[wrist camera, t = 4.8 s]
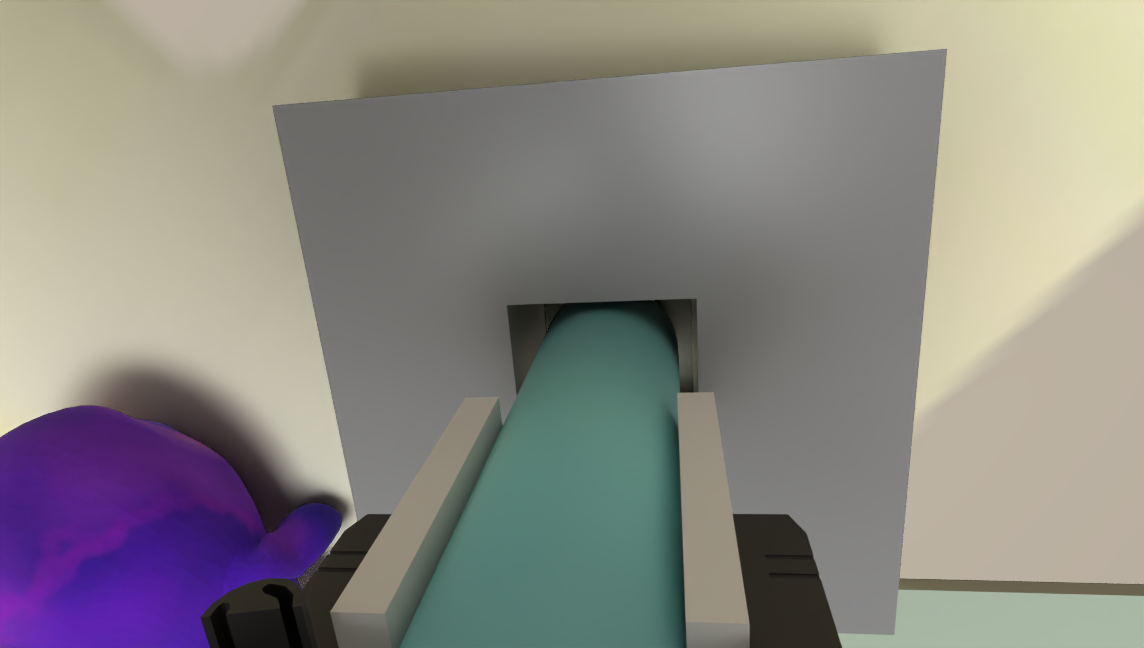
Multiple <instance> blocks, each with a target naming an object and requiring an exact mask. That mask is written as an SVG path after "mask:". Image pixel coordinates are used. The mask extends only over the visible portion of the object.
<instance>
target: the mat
mask: <svg viewBox="0 0 1144 648" xmlns="http://www.w3.org/2000/svg"><path fill="white" fill-rule="evenodd" d="M838 636H839V639H840V642H841V645H842V648H1144V584H1107V583H1103V584H1102V583H1064V582H1023V581H1020V582H1019V581H981V580H980V581H979V580H940V579H939V580H938V579H899V588H898V599H897V611H896V622H895V633H894V635H875V634H847V633H838Z"/></svg>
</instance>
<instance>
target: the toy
mask: <svg viewBox="0 0 1144 648" xmlns="http://www.w3.org/2000/svg"><path fill="white" fill-rule="evenodd" d="M341 523H342V517H341V514H340V513H339V512H338V511H337V510H336V509H335V508H333V507H331V506H329V505H326V504H322V503H309V504H305V505H302V506H300V507H298V508H297V509H295V510H293V511H292V512H291V513H290V514H289V515H287V516H286V517H285V518H284V519H283V520H282V521H281V522H280V524H279V525H278V527H277V529H276V531H274V532H269V533H267V531H266V529H265V527H264V525H263V523H262V520H261V518H260V515H259V513H258V511H257V508H256V506H255V503H254V501H253V499H252V497H251V496H250V494H249V492H248V491H247V489H246V487H245V486H244V484H243V482H242V480H241V479H240V477H239V476H238V474H237V473H236V471H235V470H234V469H233V468H232V467H231V466H230V464H229V463H228V462H227V461H226V460H225V459H224V458H223V457H221V456H220V455H219V454H218V453H216V452H215V451H213V450H212V449H210V448H209V447H207V446H206V445H204V444H202V443H200V442H198V441H196V440H194V439H192V438H190V437H188V436H186V435H184V434H182V433H180V432H179V431H177V430H175V429H173V428H171V427H170V426H168V425H165V424H162V423H159V422H155V421H149V420H142V419H135V418H132V417H130V416H128V415H125V414H123V413H121V412H118V411H115V410H112V409H109V408H105V407H100V406H92V405H87V406H76V407H70V408H65V409H62V410H58V411H55V412H52V413H48V414H45V415H43V416H41V417H38V418H36V419H33V420H31V421H29V422H26V423H24V424H22V425H20V426H19V427H17V428H15V429H13V430H11V431H10V432H8V433H6V434H5V435H3V436H2V437H0V648H210V647H209V643H208V640H207V637H206V634H205V631H204V628H203V625H202V622H201V618H200V617H201V616H202V615H203V614H204V612H205V611H206V610H207V609H208V608H209V607H210V605H211V604H212V603H214V602H215V601H216V600H218V599H219V598H221V597H222V596H224V595H225V594H226V593H228V592H229V591H231V590H234V589H236V588H238V587H240V586H242V585H245V584H247V583H249V582H254V581H258V580H262V579H267V578H286V579H288V580H290V581H293V582H295V583H298V585H299V586H300V584H299V582H298V580H297V578H296V577H301V576H302V574H304V573H305V571H306V569H308V568H309V567H310V566H311V565H312V564H313V563H315V562H316V561H317V559H318V558H319V557H320V556H321V555H322V554H323V553H324V552H325V550H326V549H327V548H328V546H329V545H330V543H331V542H332V541H333V539H334V537H335V536H336V534H337V533H338V531H339V529H340V527H341ZM300 588H301V586H300ZM301 590H302V588H301Z"/></svg>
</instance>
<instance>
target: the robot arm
mask: <svg viewBox="0 0 1144 648" xmlns="http://www.w3.org/2000/svg"><path fill="white" fill-rule="evenodd" d="M677 399H678V427H679V454H680V481H681V508H682V535H683V562H684V589H685V616H686V643H687V648H842V645H841V642H840V639H839V636H838V633H837V629H836V626H835V623H834V620H833V617H832V613H831V610H830V607H829V604H828V600H827V597H826V594H825V591H824V588H823V584H822V581H821V579H820V578H819V572H818V568H817V565H816V562H815V560H814V556H813V552H812V549H811V546H810V543H809V539H808V536H807V533H806V532H805V531H804V530H803V529H802V528H801V527H800V526H799V525H798V524H797V523H796V522H795V521H794V520H793V519H792V518H791V517H790V516H789V515H788V514H733V513H732V507H731V500H730V494H729V487H728V481H727V475H726V468H725V462H724V455H723V449H722V442H721V436H720V429H719V423H718V416H717V410H716V403H715V397H714V392H694V393H677ZM502 427H503V425H502V417H501V410H500V402H499V397H465V399H464V401H463V402H462V404H461V405H460V407H459V408H458V410H457V412H456V413H455V415H454V416H453V418H452V420H451V421H450V423H449V424H448V426H447V427H446V429H445V431H444V432H443V434H442V435H441V437H440V439H439V440H438V442H437V443H436V445H435V446H434V448H433V450H432V451H431V453H430V454H429V456H428V458H427V459H426V461H425V462H424V464H423V466H422V467H421V469H420V470H419V472H418V473H417V475H416V477H415V478H414V480H413V481H412V483H411V485H410V486H409V488H408V489H407V491H406V492H405V494H404V496H403V497H402V499H401V500H400V502H399V504H398V505H397V507H396V508H395V510H394V511H393V513H392V514H367V515H365V516H364V517H363V518H361V519H360V520H359V521H357V522H356V523H355V524H353V525H352V526H351V527H349V528H348V529H347V530H345V531H344V533H343V534H342V535H341V537H340V538H339V540H338V541H337V542H336V544H335V545H334V547H333V548H332V549H331V551H330V555H327V556H326V558H325V559H324V561H323V562H322V563H321V565H320V566H319V571H318V572H315V573H314V575H313V576H312V577H311V579H310V580H309V582H308V583H307V585H306V586H305V587H304V589H303V590H301V588H300V586H299V585H298V583H295V582H293V581H290V580H288V579H286V578H267V579H262V580H258V581H254V582H249V583H247V584H245V585H242V586H240V587H238V588H236V589H234V590H231V591H229V592H228V593H226V594H225V595H224V596H222V597H221V598H219V599H218V600H216V601H215V602H214V603H212V604H211V605H210V607H209V608H208V609H207V610H206V611H205V612H204V614H203V615H202V616H201V617H200V618H201V622H202V625H203V628H204V631H205V634H206V637H207V640H208V643H209V647H210V648H399V646H400V644H401V642H402V640H403V638H404V636H405V634H406V632H407V629H408V627H409V625H410V623H411V621H412V619H413V617H414V615H415V612H416V610H417V608H418V606H419V604H420V602H421V600H422V597H423V595H424V593H425V591H426V589H427V587H428V585H429V583H430V580H431V578H432V576H433V574H434V572H435V570H436V568H437V565H438V563H439V561H440V559H441V557H442V555H443V553H444V551H445V548H446V546H447V544H448V542H449V540H450V538H451V536H452V533H453V531H454V529H455V527H456V525H457V523H458V521H459V519H460V516H461V514H462V512H463V510H464V508H465V506H466V504H467V501H468V499H469V497H470V495H471V493H472V491H473V489H474V487H475V484H476V482H477V480H478V478H479V476H480V474H481V472H482V469H483V467H484V465H485V463H486V461H487V459H488V457H489V455H490V452H491V450H492V448H493V446H494V444H495V442H496V440H497V437H498V435H499V433H500V431H501V429H502Z"/></svg>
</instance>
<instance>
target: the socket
mask: <svg viewBox="0 0 1144 648" xmlns="http://www.w3.org/2000/svg"><path fill="white" fill-rule="evenodd" d="M946 55H947V49H941V50H929V51H917V52H905V53H893V54H881V55H869V56H857V57H845V58H834V59H822V60H810V61H798V62H786V63H774V64H762V65H750V66H738V67H727V68H715V69H703V70H691V71H679V72H667V73H655V74H643V75H631V76H620V77H608V78H596V79H584V80H572V81H560V82H548V83H536V84H524V85H513V86H501V87H489V88H477V89H465V90H453V91H441V92H429V93H417V94H406V95H394V96H382V97H370V98H358V99H346V100H334V101H322V102H310V103H299V104H287V105H275V106H273V111H274V116H275V121H276V126H277V131H278V136H279V141H280V145H281V150H282V155H283V160H284V165H285V170H286V175H287V180H288V184H289V189H290V194H291V199H292V204H293V209H294V214H295V219H296V223H297V228H298V233H299V238H300V243H301V248H302V253H303V258H304V262H305V267H306V272H307V277H308V282H309V287H310V292H311V296H312V301H313V306H314V311H315V316H316V321H317V326H318V331H319V335H320V340H321V345H322V350H323V355H324V360H325V365H326V370H327V374H328V379H329V384H330V389H331V394H332V399H333V404H334V409H335V413H336V418H337V423H338V428H339V433H340V438H341V443H342V447H343V452H344V457H345V462H346V467H347V472H348V477H349V482H350V486H351V491H352V496H353V501H354V506H355V511H356V516H357V521H359V520H360V519H361V518H363V517H364V516H365V515H367V514H392V513H393V511H394V510H395V508H396V507H397V505H398V504H399V502H400V500H401V499H402V497H403V496H404V494H405V492H406V491H407V489H408V488H409V486H410V485H411V483H412V481H413V480H414V478H415V477H416V475H417V473H418V472H419V470H420V469H421V467H422V466H423V464H424V462H425V461H426V459H427V458H428V456H429V454H430V453H431V451H432V450H433V448H434V446H435V445H436V443H437V442H438V440H439V439H440V437H441V435H442V434H443V432H444V431H445V429H446V427H447V426H448V424H449V423H450V421H451V420H452V418H453V416H454V415H455V413H456V412H457V410H458V408H459V407H460V405H461V404H462V402H463V401H464V399H465V397H499V402H500V410H501V417H502V425H504V423H505V420H506V418H507V416H508V414H509V412H510V410H511V408H512V405H513V403H514V401H515V399H516V397H517V395H518V393H519V391H520V388H521V386H522V384H523V382H524V380H525V378H526V376H527V374H528V371H529V369H530V367H531V365H532V363H533V361H534V359H535V356H536V354H537V352H538V350H539V348H540V346H541V344H542V342H543V339H544V337H545V335H546V324H545V314H544V304H553V303H582V302H610V301H639V300H667V299H692V336H693V381H694V392H714V397H715V403H716V410H717V416H718V423H719V429H720V436H721V442H722V449H723V455H724V462H725V468H726V475H727V481H728V487H729V494H730V500H731V507H732V513H733V514H788V515H789V516H790V517H791V518H792V519H793V520H794V521H795V522H796V523H797V524H798V525H799V526H800V527H801V528H802V529H803V530H804V531H805V532H806V533H807V536H808V539H809V543H810V546H811V549H812V552H813V556H814V560H815V562H816V565H817V568H818V572H819V578H820V579H821V581H822V584H823V588H824V591H825V594H826V597H827V600H828V604H829V607H830V610H831V613H832V617H833V620H834V623H835V626H836V629H837V633H847V634H875V635H894V633H895V622H896V611H897V599H898V588H899V577H900V566H901V555H902V543H903V532H904V521H905V510H906V499H907V488H908V476H909V466H910V455H911V443H912V433H913V422H914V410H915V399H916V388H917V377H918V366H919V355H920V344H921V333H922V322H923V310H924V299H925V288H926V277H927V266H928V255H929V244H930V233H931V222H932V210H933V199H934V188H935V177H936V166H937V155H938V144H939V133H940V122H941V110H942V99H943V88H944V77H945V66H946Z"/></svg>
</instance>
